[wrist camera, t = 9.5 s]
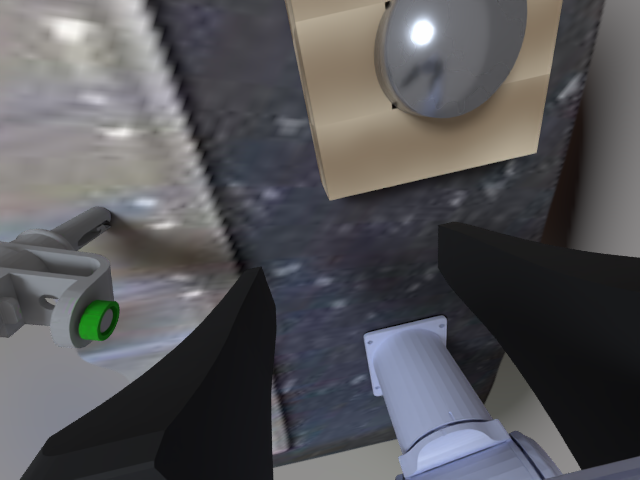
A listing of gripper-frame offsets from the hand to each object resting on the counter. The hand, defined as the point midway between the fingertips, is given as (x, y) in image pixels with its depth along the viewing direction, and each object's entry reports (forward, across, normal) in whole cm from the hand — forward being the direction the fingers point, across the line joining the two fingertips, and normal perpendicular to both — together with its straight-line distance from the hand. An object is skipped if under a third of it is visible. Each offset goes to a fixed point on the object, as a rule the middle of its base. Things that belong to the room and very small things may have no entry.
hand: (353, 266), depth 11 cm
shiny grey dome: (+9, -6, -7) cm, 13 cm away
